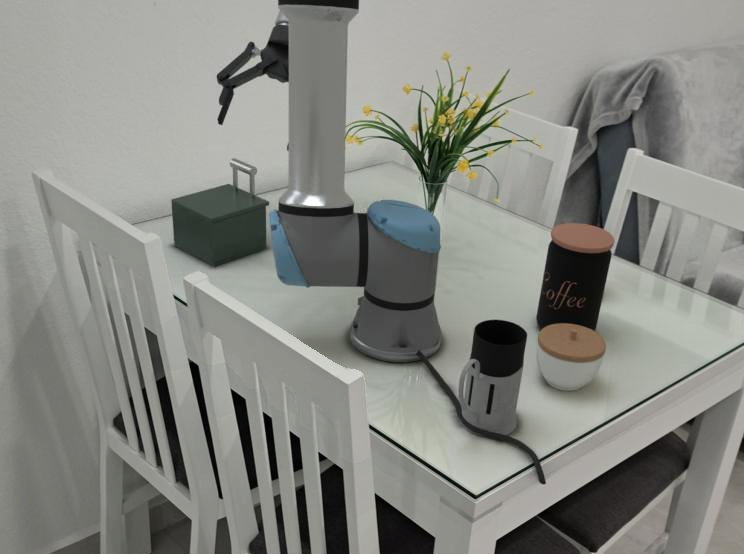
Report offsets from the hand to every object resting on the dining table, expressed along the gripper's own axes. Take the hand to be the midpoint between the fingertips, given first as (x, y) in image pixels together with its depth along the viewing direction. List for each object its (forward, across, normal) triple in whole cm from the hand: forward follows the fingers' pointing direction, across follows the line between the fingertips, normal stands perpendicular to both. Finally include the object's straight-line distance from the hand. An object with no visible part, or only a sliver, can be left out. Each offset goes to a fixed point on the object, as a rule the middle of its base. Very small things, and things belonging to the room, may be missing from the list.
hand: (254, 135), depth 171 cm
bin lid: (+13, +2, -6) cm, 15 cm away
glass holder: (+42, -50, +39) cm, 76 cm away
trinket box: (+29, -63, +28) cm, 75 cm away
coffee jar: (+18, -64, +15) cm, 68 cm away
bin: (+20, 0, -11) cm, 23 cm away
